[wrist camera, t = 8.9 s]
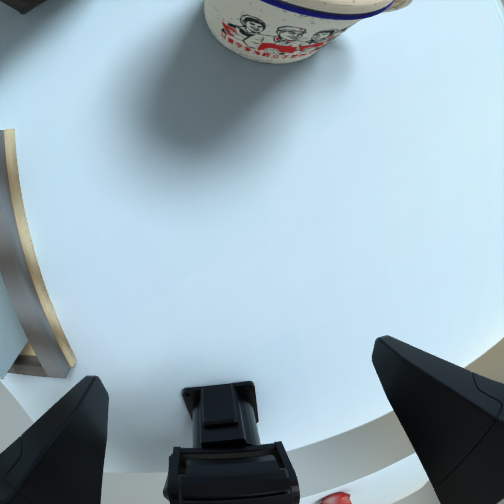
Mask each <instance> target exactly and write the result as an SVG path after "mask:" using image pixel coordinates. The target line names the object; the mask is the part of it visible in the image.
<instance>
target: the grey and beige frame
mask: <svg viewBox="0 0 504 504" xmlns="http://www.w3.org/2000/svg"><path fill="white" fill-rule="evenodd" d="M0 273H1V276H2V279H3V282H4V284H5V287H6V290H7V293H8V295H9V298H10V300H11V303H12V305H13V308H14V310H15V312H16V315H17V317H18V319H19V322H20V324H21V326H22V328H23V330H24V332H25V334H26V337H27V339H28V342H27V344H26V345H25V346H24V348H23V349H22V351H21V352H20V354H19V355H18V357H17V358H16V360H15V361H14V363H13V364H12V366H11V367H10V369H9V370H8V372H7V373H15V374H23V375H32V376H42V377H55V378H66V376H67V374H68V371H69V369H70V367H74V364H75V362H76V358H75V356H74V354H73V352H72V350H71V348H70V346H69V344H68V341H67V339H66V337H65V335H64V333H63V330H62V328H61V326H60V323H59V321H58V319H57V316H56V314H55V311H54V309H53V306H52V304H51V301H50V298H49V296H48V293H47V290H46V287H45V284H44V282H43V279H42V276H41V272H40V269H39V266H38V263H37V259H36V256H35V253H34V249H33V245H32V241H31V238H30V234H29V229H28V225H27V221H26V216H25V211H24V206H23V201H22V195H21V189H20V183H19V176H18V168H17V159H16V148H15V134H14V129H6V130H0Z"/></svg>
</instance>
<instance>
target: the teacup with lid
mask: <svg viewBox="0 0 504 504" xmlns="http://www.w3.org/2000/svg"><path fill="white" fill-rule="evenodd" d="M412 1H413V0H204V13H205V19H206V22H207V25H208V27H209V29H210V30H211V32H212V34H213V35H214V36H215V37H216V38H217V40H218V41H219V42H220V43H222V44H223V45H224V46H225V47H227V48H228V49H229V50H231V51H233V52H234V53H236V54H238V55H240V56H243V57H245V58H248V59H251V60H254V61H258V62H264V63H274V64H281V63H291V62H296V61H299V60H302V59H305V58H307V57H309V56H311V55H313V54H314V53H316V52H317V51H319V50H320V49H321V48H323V47H324V46H325V45H326V44H328V43H329V42H330V41H332V40H333V39H334V38H336V37H337V36H338V35H340V34H341V33H343V32H344V31H345V30H347V29H348V28H350V27H351V26H352V25H354V24H355V23H357V22H358V21H360V20H361V19H364V18H368V17H372V16H374V15H377V14H379V13H384V12H390V11H395V10H398V9H401V8H404V7H406V6H407V5H409V4H410V3H411V2H412Z"/></svg>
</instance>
